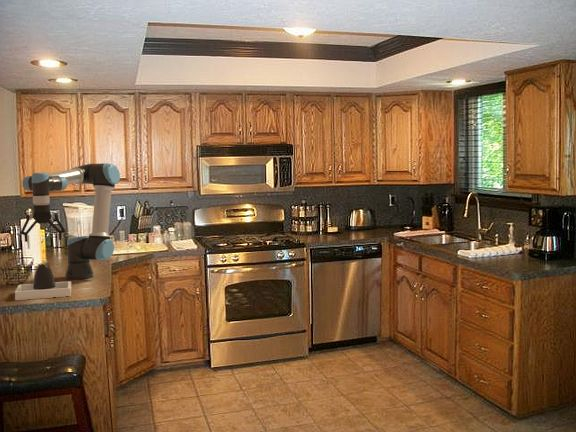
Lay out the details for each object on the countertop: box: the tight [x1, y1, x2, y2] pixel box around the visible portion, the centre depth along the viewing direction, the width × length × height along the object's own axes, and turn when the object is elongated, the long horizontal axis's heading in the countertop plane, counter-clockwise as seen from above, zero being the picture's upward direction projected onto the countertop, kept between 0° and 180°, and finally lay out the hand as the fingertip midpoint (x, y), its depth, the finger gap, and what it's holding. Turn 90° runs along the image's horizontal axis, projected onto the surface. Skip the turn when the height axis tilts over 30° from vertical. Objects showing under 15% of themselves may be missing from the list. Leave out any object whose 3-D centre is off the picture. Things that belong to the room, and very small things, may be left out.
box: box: [14, 280, 72, 301], centre depth 291 cm, size 24×18×4 cm
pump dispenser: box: [32, 263, 56, 290], centre depth 290 cm, size 10×10×15 cm
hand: (43, 247), depth 291 cm, fingers open, 13 cm apart
